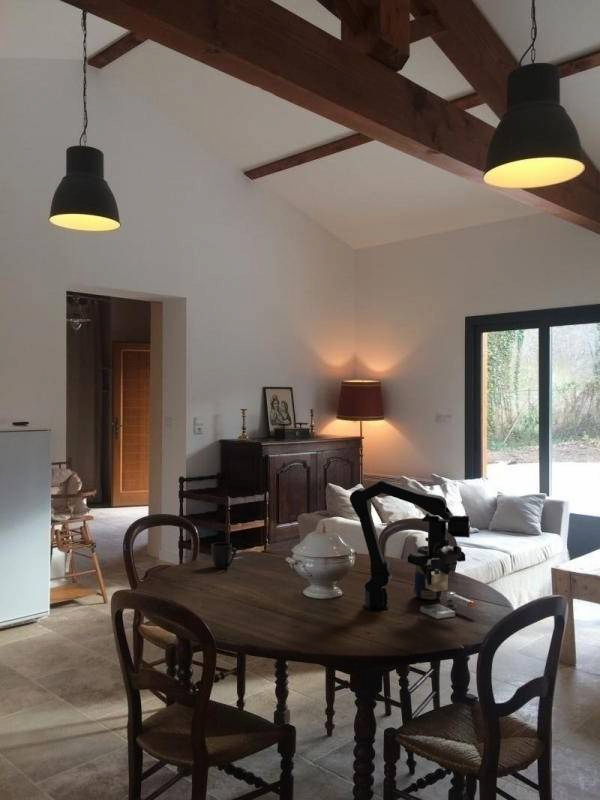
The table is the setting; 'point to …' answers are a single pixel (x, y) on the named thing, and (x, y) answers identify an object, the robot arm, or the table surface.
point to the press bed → (437, 611)
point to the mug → (222, 554)
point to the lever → (460, 600)
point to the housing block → (438, 581)
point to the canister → (420, 579)
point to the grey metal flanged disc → (451, 604)
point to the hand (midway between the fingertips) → (436, 584)
